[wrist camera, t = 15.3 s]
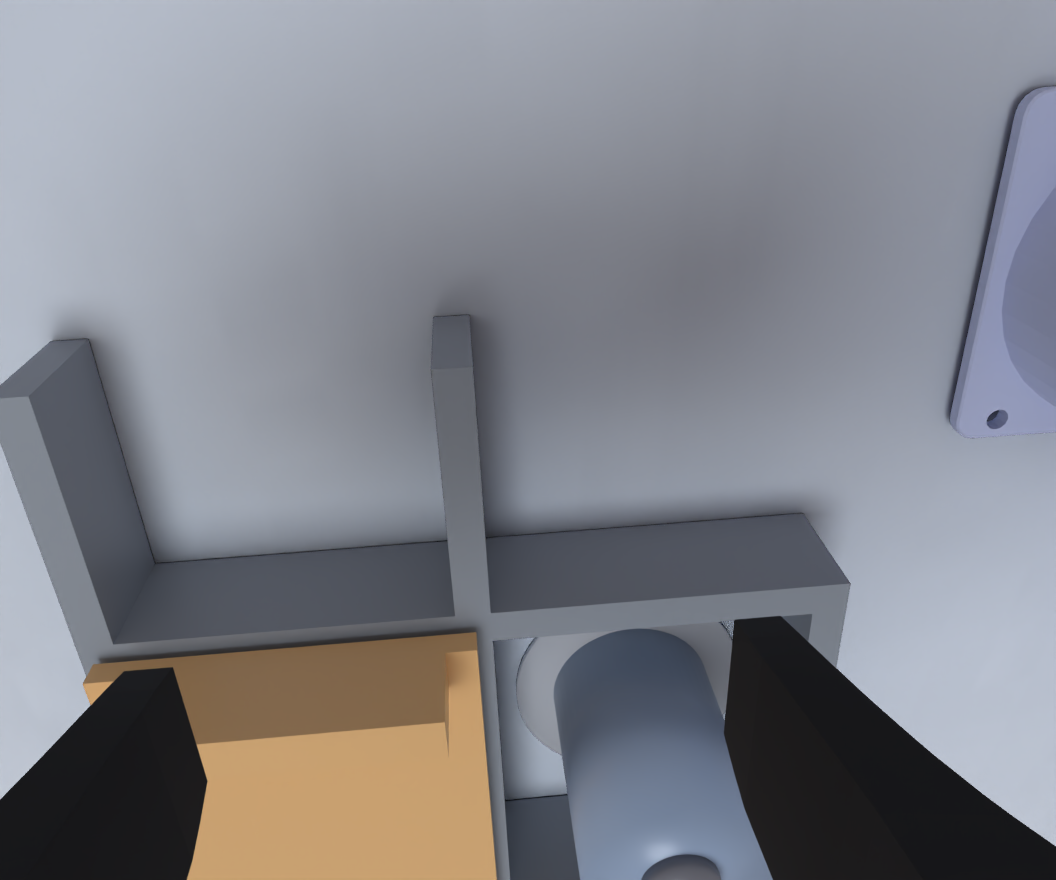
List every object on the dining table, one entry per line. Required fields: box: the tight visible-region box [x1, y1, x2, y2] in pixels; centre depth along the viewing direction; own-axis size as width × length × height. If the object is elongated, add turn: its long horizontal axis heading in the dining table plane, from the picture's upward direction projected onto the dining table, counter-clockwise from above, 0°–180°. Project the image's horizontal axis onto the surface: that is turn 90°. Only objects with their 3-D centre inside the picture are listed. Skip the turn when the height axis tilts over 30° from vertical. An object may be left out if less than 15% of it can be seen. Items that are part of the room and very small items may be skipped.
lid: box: [83, 632, 497, 880], centre depth 20 cm, size 8×10×3 cm
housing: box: [0, 315, 851, 880], centre depth 22 cm, size 17×17×3 cm
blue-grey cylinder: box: [554, 629, 773, 880], centre depth 22 cm, size 4×4×6 cm
